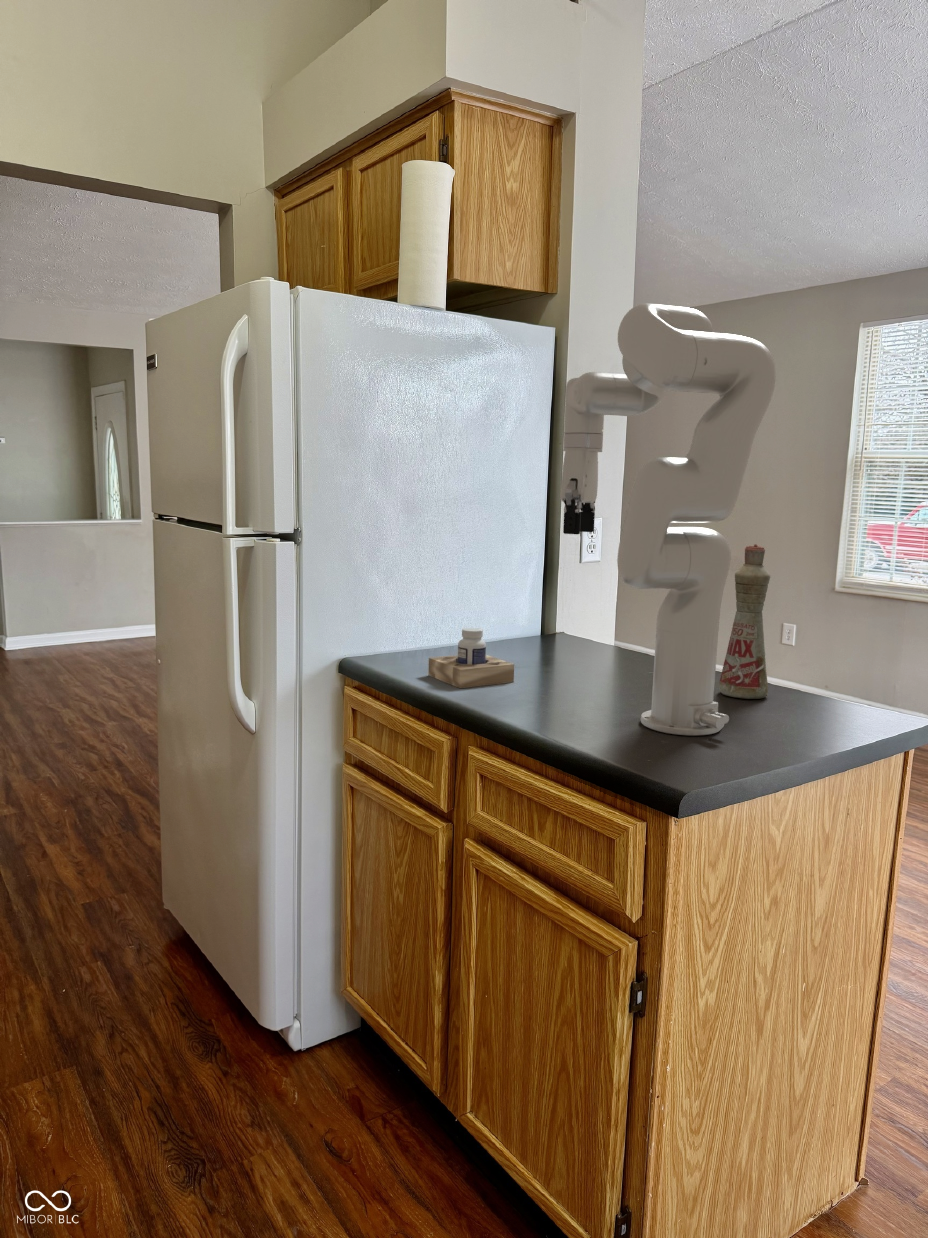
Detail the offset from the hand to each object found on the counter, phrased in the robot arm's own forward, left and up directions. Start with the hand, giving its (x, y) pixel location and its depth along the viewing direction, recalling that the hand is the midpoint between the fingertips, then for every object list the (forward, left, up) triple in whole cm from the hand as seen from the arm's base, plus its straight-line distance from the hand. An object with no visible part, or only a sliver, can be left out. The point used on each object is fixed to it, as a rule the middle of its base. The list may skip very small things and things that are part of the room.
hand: (578, 532), depth 173 cm
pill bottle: (+5, +21, -28) cm, 36 cm away
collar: (+5, +21, -28) cm, 36 cm away
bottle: (-28, -18, -28) cm, 44 cm away
